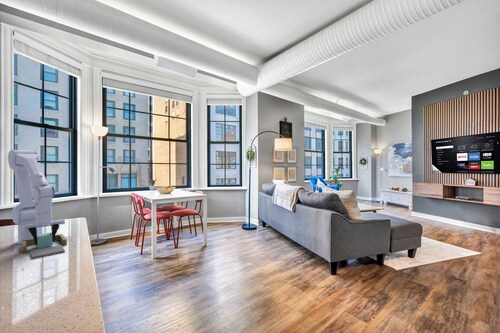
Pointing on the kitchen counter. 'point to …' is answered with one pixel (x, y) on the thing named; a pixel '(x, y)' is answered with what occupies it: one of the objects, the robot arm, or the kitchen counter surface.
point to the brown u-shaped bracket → (32, 242)
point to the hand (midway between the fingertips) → (44, 242)
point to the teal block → (44, 240)
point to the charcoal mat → (47, 251)
